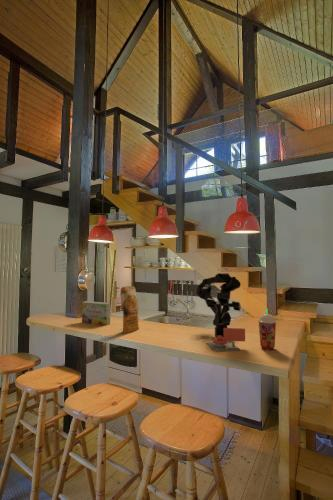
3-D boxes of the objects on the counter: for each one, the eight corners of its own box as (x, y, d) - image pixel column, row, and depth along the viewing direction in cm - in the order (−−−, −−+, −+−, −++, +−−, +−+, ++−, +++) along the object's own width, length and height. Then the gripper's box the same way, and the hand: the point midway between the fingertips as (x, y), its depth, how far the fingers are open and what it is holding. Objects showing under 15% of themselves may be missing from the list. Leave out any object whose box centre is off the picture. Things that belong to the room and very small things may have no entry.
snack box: (81, 323, 197) (81, 301, 198) (86, 321, 202) (86, 300, 203) (106, 325, 188) (106, 303, 189) (110, 324, 194) (111, 302, 194)
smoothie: (272, 345, 143) (271, 307, 144) (279, 350, 135) (278, 309, 136) (256, 345, 143) (255, 307, 144) (262, 351, 134) (261, 309, 135)
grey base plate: (229, 342, 149) (229, 337, 149) (240, 350, 135) (240, 345, 135) (206, 343, 147) (206, 338, 147) (215, 351, 133) (215, 346, 133)
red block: (213, 344, 138) (213, 329, 138) (212, 340, 145) (212, 326, 145) (246, 345, 136) (245, 330, 136) (243, 341, 143) (243, 327, 143)
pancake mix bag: (116, 333, 168) (116, 287, 169) (134, 327, 184) (134, 285, 186) (125, 334, 165) (125, 287, 166) (142, 328, 181) (143, 285, 183)
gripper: (206, 284, 157) (200, 309, 148) (239, 287, 148) (235, 314, 140) (210, 294, 165) (205, 318, 156) (242, 297, 157) (238, 323, 148)
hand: (220, 318), depth 150 cm, fingers closed
